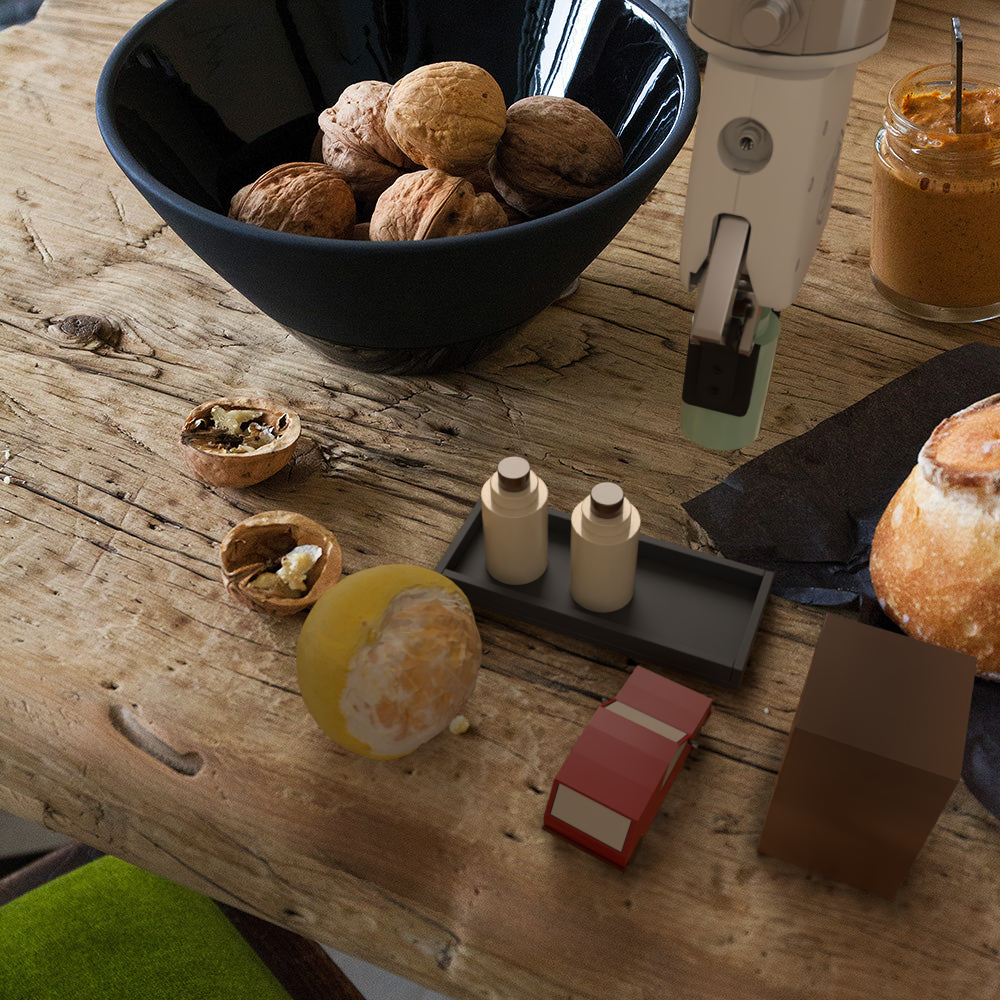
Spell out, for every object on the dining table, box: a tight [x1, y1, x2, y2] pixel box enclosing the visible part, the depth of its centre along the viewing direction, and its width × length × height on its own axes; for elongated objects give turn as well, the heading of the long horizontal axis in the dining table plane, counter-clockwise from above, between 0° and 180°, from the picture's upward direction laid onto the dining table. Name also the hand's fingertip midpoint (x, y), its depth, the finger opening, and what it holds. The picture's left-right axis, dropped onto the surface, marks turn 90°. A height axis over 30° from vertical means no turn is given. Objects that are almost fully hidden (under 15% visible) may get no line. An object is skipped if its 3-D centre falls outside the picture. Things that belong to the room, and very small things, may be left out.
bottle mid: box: [569, 481, 642, 613], centre depth 64 cm, size 4×4×9 cm
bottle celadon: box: [678, 274, 782, 452], centre depth 51 cm, size 4×4×9 cm
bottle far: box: [480, 456, 549, 585], centre depth 65 cm, size 4×4×9 cm
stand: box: [755, 612, 978, 902], centre depth 51 cm, size 7×7×12 cm
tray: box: [433, 496, 776, 692], centre depth 66 cm, size 20×8×2 cm, turn 66°
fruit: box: [295, 563, 483, 761], centre depth 58 cm, size 10×11×10 cm
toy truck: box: [541, 665, 716, 875], centre depth 56 cm, size 6×12×5 cm, turn 149°
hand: (728, 374), depth 51 cm, fingers closed on bottle celadon, 4 cm apart
